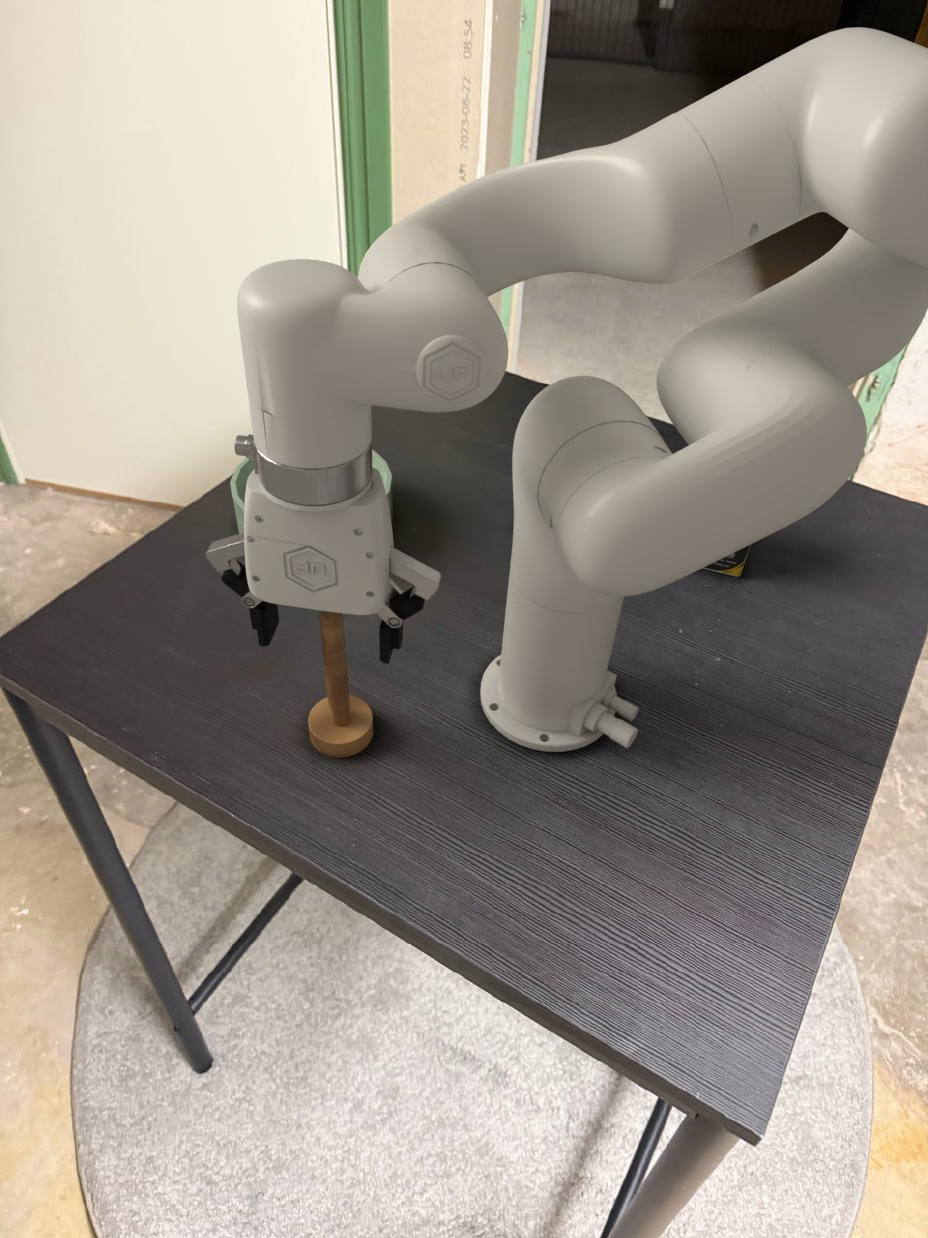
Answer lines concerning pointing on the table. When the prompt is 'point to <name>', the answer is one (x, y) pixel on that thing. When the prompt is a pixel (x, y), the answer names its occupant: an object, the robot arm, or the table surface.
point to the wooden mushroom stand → (338, 699)
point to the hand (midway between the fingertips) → (328, 642)
